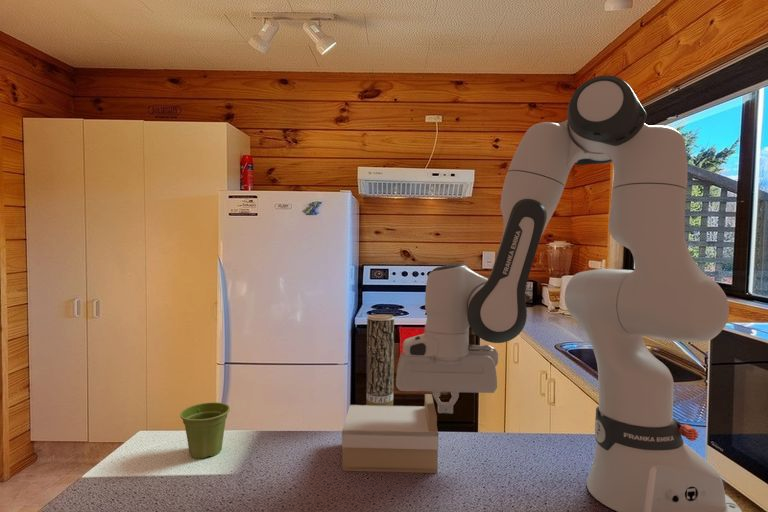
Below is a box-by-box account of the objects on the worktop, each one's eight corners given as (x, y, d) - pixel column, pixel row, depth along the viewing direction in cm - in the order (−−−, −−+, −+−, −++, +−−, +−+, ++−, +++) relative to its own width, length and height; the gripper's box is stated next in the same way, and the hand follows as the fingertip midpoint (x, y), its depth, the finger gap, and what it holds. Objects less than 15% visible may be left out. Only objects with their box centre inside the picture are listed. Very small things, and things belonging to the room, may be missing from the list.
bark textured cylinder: (367, 409, 114) (368, 314, 113) (393, 409, 113) (394, 314, 113) (365, 419, 107) (366, 318, 107) (392, 420, 107) (393, 318, 106)
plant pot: (212, 466, 84) (212, 421, 84) (169, 460, 86) (169, 417, 85) (238, 444, 93) (238, 404, 93) (199, 440, 95) (199, 400, 95)
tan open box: (432, 444, 94) (432, 412, 94) (437, 473, 82) (437, 436, 82) (349, 442, 94) (349, 410, 94) (342, 470, 82) (342, 434, 82)
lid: (432, 420, 95) (432, 392, 95) (438, 449, 81) (438, 417, 81) (349, 418, 95) (350, 391, 95) (342, 447, 81) (342, 415, 81)
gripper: (494, 342, 90) (493, 408, 91) (396, 339, 91) (395, 405, 91) (502, 349, 84) (500, 419, 84) (396, 346, 85) (395, 417, 85)
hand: (445, 412), depth 88 cm, fingers closed
